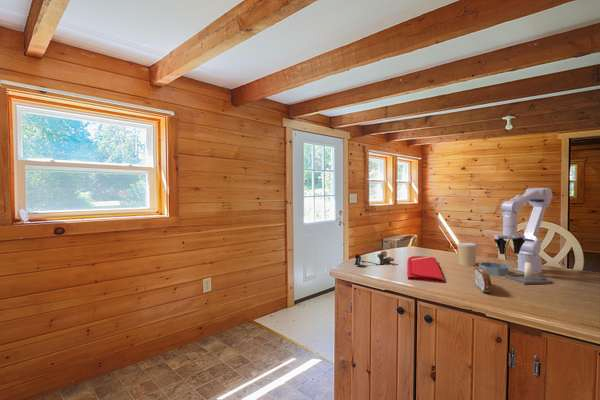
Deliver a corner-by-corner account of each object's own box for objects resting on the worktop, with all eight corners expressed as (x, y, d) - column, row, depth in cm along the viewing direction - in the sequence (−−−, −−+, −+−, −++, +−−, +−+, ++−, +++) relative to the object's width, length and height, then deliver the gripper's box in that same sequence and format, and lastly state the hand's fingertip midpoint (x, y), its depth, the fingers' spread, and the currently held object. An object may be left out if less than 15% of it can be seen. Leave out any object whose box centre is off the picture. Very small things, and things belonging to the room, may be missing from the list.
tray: (530, 277, 145) (530, 273, 145) (551, 284, 134) (551, 280, 134) (505, 278, 144) (505, 274, 144) (524, 285, 133) (524, 281, 133)
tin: (492, 295, 120) (492, 274, 120) (483, 295, 121) (483, 274, 121) (481, 284, 134) (481, 265, 134) (473, 283, 135) (473, 265, 135)
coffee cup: (471, 263, 172) (472, 242, 171) (480, 267, 163) (480, 245, 162) (454, 263, 173) (454, 242, 172) (461, 267, 164) (461, 245, 163)
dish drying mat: (407, 280, 142) (407, 272, 142) (407, 261, 180) (407, 255, 180) (444, 284, 136) (444, 275, 136) (436, 263, 175) (436, 256, 175)
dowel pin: (527, 278, 140) (528, 262, 140) (532, 279, 138) (532, 263, 137) (522, 278, 140) (523, 262, 140) (527, 280, 137) (527, 263, 137)
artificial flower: (352, 266, 172) (352, 248, 174) (389, 269, 176) (389, 252, 178) (358, 266, 163) (358, 247, 166) (396, 269, 167) (396, 250, 170)
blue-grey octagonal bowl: (495, 269, 159) (495, 261, 159) (514, 276, 147) (515, 267, 147) (473, 270, 158) (473, 262, 157) (491, 277, 145) (491, 268, 145)
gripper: (502, 227, 143) (501, 255, 143) (530, 226, 145) (529, 255, 145) (491, 225, 150) (490, 252, 150) (518, 225, 152) (517, 252, 152)
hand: (509, 253), depth 148 cm, fingers open, 7 cm apart
